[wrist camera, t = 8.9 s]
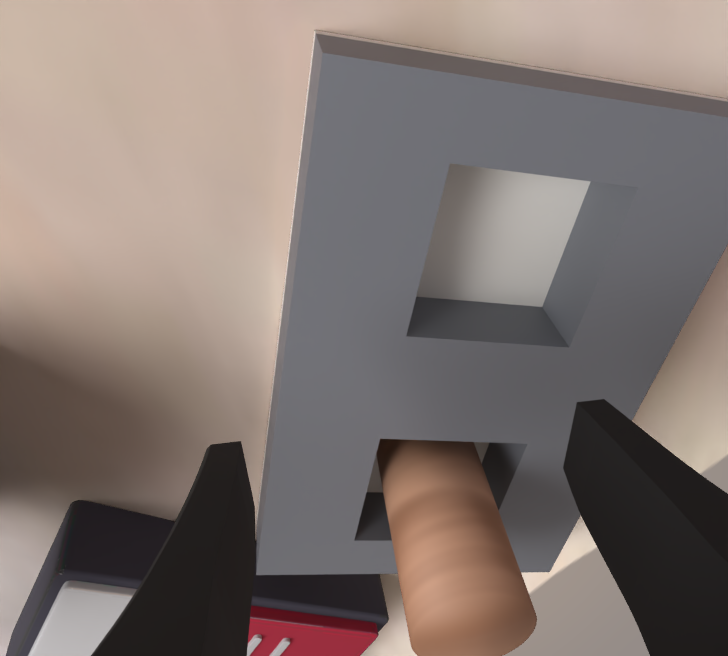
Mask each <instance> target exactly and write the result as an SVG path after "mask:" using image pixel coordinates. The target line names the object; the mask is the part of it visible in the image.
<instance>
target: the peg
mask: <svg viewBox="0 0 728 656" xmlns="http://www.w3.org/2000/svg"><path fill="white" fill-rule="evenodd" d="M376 455H377V461H378V466H379V472H380V477H381V483H382V488H383V494H384V499H385V505H386V510H387V516H388V521H389V527H390V532H391V538H392V543H393V549H394V554H395V560H396V565H397V571H398V576H399V582H400V587H401V593H402V598H403V604H404V609H405V615H406V620H407V626H408V631H409V637H410V642H411V646H412V649H413V651H414V652H415V653H416V654H417V655H418V656H502V655H505V654H507V653H509V652H510V651H512V650H514V649H515V648H517V647H518V646H520V645H521V644H522V643H524V642H525V641H526V640H527V639H528V638H529V636H530V635H531V634H532V632H533V631H534V629H535V626H536V622H537V616H536V613H535V610H534V608H533V605H532V602H531V599H530V596H529V594H528V591H527V588H526V585H525V583H524V580H523V577H522V574H521V572H520V569H519V566H518V563H517V561H516V558H515V555H514V552H513V549H512V547H511V544H510V541H509V538H508V536H507V533H506V530H505V527H504V525H503V522H502V519H501V516H500V514H499V511H498V508H497V505H496V502H495V500H494V497H493V494H492V491H491V489H490V486H489V483H488V480H487V478H486V475H485V472H484V469H483V467H482V464H481V461H480V458H479V455H478V453H477V450H476V447H475V444H474V442H462V441H433V440H404V439H380V441H379V445H378V449H377V453H376Z"/></svg>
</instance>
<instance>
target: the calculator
mask: <svg viewBox="0 0 728 656" xmlns="http://www.w3.org/2000/svg"><path fill="white" fill-rule="evenodd" d="M173 525H174V522H173V521H170V520H166V519H162V518H158V517H153V516H149V515H145V514H141V513H136V512H132V511H128V510H123V509H119V508H115V507H111V506H106V505H102V504H98V503H93V502H89V501H83V500H78V501H75V502H73V503H72V504H71V505H70V507H69V509H68V511H67V513H66V515H65V518H64V520H63V522H62V524H61V526H60V529H59V531H58V533H57V535H56V538H55V540H54V542H53V544H52V546H51V549H50V551H49V553H48V555H47V557H46V560H45V562H44V564H43V566H42V568H41V571H40V573H39V575H38V577H37V579H36V582H35V584H34V586H33V588H32V591H31V593H30V595H29V597H28V599H27V602H26V604H25V606H24V608H23V610H22V613H21V615H20V617H19V619H18V621H17V624H16V626H15V628H14V630H13V633H12V636H11V639H10V643H9V646H8V650H7V653H6V656H91V655H92V653H93V652H94V651H95V649H96V648H97V647H98V645H99V644H100V642H101V641H102V640H103V638H104V637H105V636H106V634H107V633H108V632H109V630H110V629H111V627H112V626H113V625H114V623H115V622H116V620H117V619H118V618H119V616H120V615H121V613H122V612H123V610H124V609H125V607H126V606H127V604H128V603H129V601H130V600H131V598H132V597H133V595H134V593H135V592H136V590H137V589H138V587H139V585H140V584H141V582H142V581H143V579H144V577H145V576H146V574H147V572H148V571H149V569H150V567H151V565H152V564H153V562H154V560H155V558H156V557H157V555H158V553H159V551H160V550H161V548H162V546H163V544H164V543H165V541H166V539H167V537H168V535H169V533H170V531H171V529H172V527H173ZM256 547H257V542H255V549H256ZM388 619H389V617H388V612H387V607H386V602H385V598H384V593H383V589H382V584H381V579H380V575H379V574H317V575H256V554H255V567H254V579H253V591H252V602H251V613H250V625H249V636H248V647H247V656H360V655H361V654H362V653H363V652H364V651H365V650H366V649H367V648H368V647H369V646H370V645H371V644H372V642H373V641H374V640H375V639H376V638H377V637H378V632H379V631H380V630H381V629H382V628H383V626H384V625H385V624H386V623H387V622H388Z"/></svg>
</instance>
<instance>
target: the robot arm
mask: <svg viewBox="0 0 728 656" xmlns="http://www.w3.org/2000/svg"><path fill="white" fill-rule="evenodd" d="M563 469H564V472H565V475H566V478H567V481H568V483H569V486H570V489H571V492H572V494H573V497H574V500H575V502H576V505H577V507H578V510H579V512H580V514H581V516H582V518H583V520H584V522H585V524H586V526H587V528H588V530H589V532H590V534H591V536H592V537H593V539H594V541H595V543H596V545H597V547H598V549H599V551H600V553H601V555H602V557H603V558H604V560H605V562H606V564H607V566H608V568H609V570H610V572H611V574H612V575H613V577H614V579H615V581H616V583H617V585H618V587H619V589H620V590H621V592H622V594H623V596H624V598H625V600H626V602H627V604H628V606H629V608H630V610H631V612H632V614H633V616H634V618H635V621H636V622H637V625H638V627H639V630H640V632H641V634H642V637H643V639H644V642H645V644H646V646H647V649H648V651H649V654H650V656H728V494H727V493H725V492H724V491H722V490H721V489H720V488H718V487H717V486H716V485H714V484H713V483H711V482H710V481H708V480H707V479H706V478H704V477H703V476H702V475H700V474H699V473H698V472H696V471H695V470H693V469H692V468H691V467H689V466H688V465H687V464H685V463H684V462H683V461H681V460H680V459H679V458H678V457H676V456H675V455H674V454H672V453H671V452H670V451H669V450H667V449H666V448H665V447H663V446H662V445H661V444H660V443H658V442H657V441H656V440H655V439H653V438H652V437H651V436H650V435H648V434H647V433H646V432H645V431H643V430H642V429H641V428H640V427H638V426H637V425H636V424H635V423H634V422H632V421H631V420H630V419H629V418H627V417H626V416H625V415H624V414H622V413H621V412H620V411H619V410H617V409H616V408H615V407H614V406H612V405H611V404H610V403H609V402H607V401H606V400H605V399H600V400H591V401H583V402H577V404H576V409H575V413H574V418H573V423H572V428H571V432H570V437H569V442H568V446H567V451H566V456H565V461H564V465H563ZM255 554H256V549H255V506H254V501H253V497H252V492H251V487H250V482H249V478H248V473H247V468H246V463H245V458H244V454H243V449H242V444H241V441H239V442H230V443H222V444H213V445H210V446H209V447H208V449H207V450H206V453H205V456H204V458H203V461H202V464H201V466H200V469H199V471H198V474H197V476H196V479H195V481H194V483H193V486H192V488H191V490H190V492H189V495H188V497H187V499H186V501H185V503H184V505H183V507H182V509H181V511H180V513H179V515H178V517H177V519H176V521H175V523H174V525H173V527H172V529H171V531H170V533H169V535H168V537H167V539H166V541H165V543H164V544H163V546H162V548H161V550H160V551H159V553H158V555H157V557H156V558H155V560H154V562H153V564H152V565H151V567H150V569H149V571H148V572H147V574H146V576H145V577H144V579H143V581H142V582H141V584H140V585H139V587H138V589H137V590H136V592H135V593H134V595H133V597H132V598H131V600H130V601H129V603H128V604H127V606H126V607H125V609H124V610H123V612H122V613H121V615H120V616H119V618H118V619H117V620H116V622H115V623H114V625H113V626H112V627H111V629H110V630H109V632H108V633H107V634H106V636H105V637H104V638H103V640H102V641H101V642H100V644H99V645H98V647H97V648H96V649H95V651H94V652H93V653H92V655H91V656H247V647H248V636H249V625H250V613H251V602H252V591H253V579H254V567H255Z"/></svg>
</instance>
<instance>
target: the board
mask: <svg viewBox="0 0 728 656" xmlns="http://www.w3.org/2000/svg"><path fill="white" fill-rule="evenodd" d="M727 244H728V99H725V98H719V97H713V96H707V95H701V94H695V93H689V92H683V91H677V90H671V89H665V88H659V87H653V86H647V85H641V84H635V83H629V82H623V81H617V80H612V79H606V78H600V77H594V76H588V75H582V74H576V73H570V72H564V71H558V70H552V69H546V68H540V67H534V66H528V65H522V64H516V63H510V62H504V61H498V60H492V59H486V58H480V57H474V56H468V55H462V54H456V53H450V52H444V51H438V50H432V49H426V48H420V47H414V46H408V45H402V44H396V43H390V42H384V41H378V40H372V39H366V38H360V37H354V36H348V35H342V34H336V33H330V32H324V31H318V30H314V37H313V45H312V54H311V62H310V71H309V79H308V88H307V96H306V104H305V113H304V121H303V130H302V138H301V147H300V155H299V164H298V172H297V181H296V189H295V198H294V206H293V214H292V223H291V231H290V240H289V248H288V257H287V265H286V274H285V282H284V291H283V299H282V307H281V316H280V324H279V333H278V341H277V350H276V358H275V367H274V375H273V384H272V392H271V400H270V409H269V417H268V426H267V434H266V443H265V451H264V460H263V468H262V477H261V485H260V493H259V502H258V510H257V547H256V575H317V574H398V571H397V565H396V560H395V554H394V549H393V543H392V538H391V532H390V527H389V521H388V516H387V510H386V505H385V499H384V494H383V488H382V483H381V477H380V472H379V466H378V461H377V455H376V453H377V449H378V445H379V441H380V439H404V440H433V441H462V442H474V444H475V447H476V450H477V453H478V455H479V458H480V461H481V464H482V467H483V469H484V472H485V475H486V478H487V480H488V483H489V486H490V489H491V491H492V494H493V497H494V500H495V502H496V505H497V508H498V511H499V514H500V516H501V519H502V522H503V525H504V527H505V530H506V533H507V536H508V538H509V541H510V544H511V547H512V549H513V552H514V555H515V558H516V561H517V563H518V566H519V569H520V572H550V570H551V569H552V567H553V565H554V563H555V561H556V559H557V557H558V556H559V554H560V552H561V550H562V548H563V546H564V545H565V543H566V541H567V539H568V537H569V535H570V534H571V532H572V530H573V528H574V526H575V524H576V522H577V521H578V519H579V517H580V515H581V514H580V512H579V510H578V507H577V505H576V502H575V500H574V497H573V494H572V492H571V489H570V486H569V483H568V481H567V478H566V475H565V472H564V469H563V465H564V461H565V456H566V451H567V446H568V442H569V437H570V432H571V428H572V423H573V418H574V413H575V409H576V404H577V402H583V401H591V400H600V399H605V400H606V401H607V402H609V403H610V404H611V405H612V406H614V407H615V408H616V409H617V410H619V411H620V412H621V413H622V414H624V415H625V416H626V417H627V418H629V419H630V420H631V421H632V419H633V418H634V416H635V414H636V412H637V410H638V408H639V406H640V405H641V403H642V401H643V399H644V397H645V395H646V394H647V392H648V390H649V388H650V386H651V384H652V383H653V381H654V379H655V377H656V375H657V373H658V372H659V370H660V368H661V366H662V364H663V362H664V360H665V359H666V357H667V355H668V353H669V351H670V349H671V348H672V346H673V344H674V342H675V340H676V338H677V337H678V335H679V333H680V331H681V329H682V327H683V325H684V324H685V322H686V320H687V318H688V316H689V314H690V313H691V311H692V309H693V307H694V305H695V303H696V302H697V300H698V298H699V296H700V294H701V292H702V290H703V289H704V287H705V285H706V283H707V281H708V279H709V278H710V276H711V274H712V272H713V270H714V268H715V267H716V265H717V263H718V261H719V259H720V257H721V256H722V254H723V252H724V250H725V248H726V246H727Z"/></svg>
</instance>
